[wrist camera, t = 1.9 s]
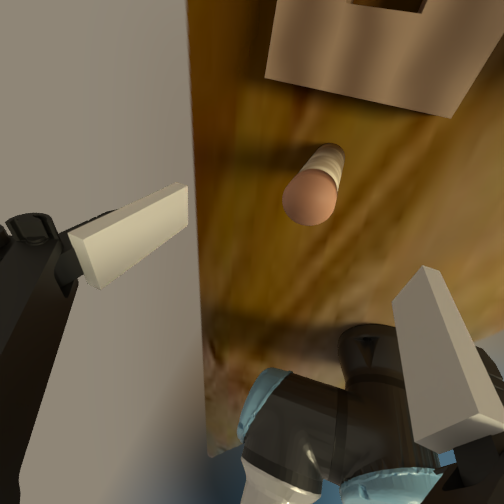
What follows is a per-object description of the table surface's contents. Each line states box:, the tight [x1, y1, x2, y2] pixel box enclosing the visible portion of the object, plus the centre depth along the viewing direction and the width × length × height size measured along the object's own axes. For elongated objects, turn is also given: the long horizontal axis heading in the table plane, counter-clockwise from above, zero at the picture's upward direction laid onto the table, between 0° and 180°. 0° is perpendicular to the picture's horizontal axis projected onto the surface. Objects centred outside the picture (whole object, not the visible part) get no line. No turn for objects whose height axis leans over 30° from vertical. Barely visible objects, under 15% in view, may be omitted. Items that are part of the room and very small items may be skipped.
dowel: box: [282, 143, 345, 226], centre depth 24 cm, size 4×4×16 cm
